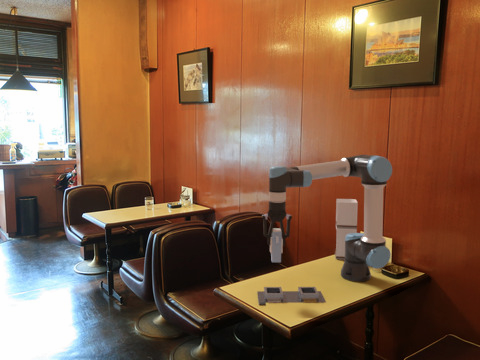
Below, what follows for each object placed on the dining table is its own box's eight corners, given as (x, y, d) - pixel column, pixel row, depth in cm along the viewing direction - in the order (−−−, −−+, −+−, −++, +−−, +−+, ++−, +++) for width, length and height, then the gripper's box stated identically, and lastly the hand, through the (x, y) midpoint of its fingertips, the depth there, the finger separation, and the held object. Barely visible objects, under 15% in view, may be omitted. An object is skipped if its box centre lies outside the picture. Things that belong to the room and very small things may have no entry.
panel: (320, 293, 183) (320, 285, 183) (326, 304, 171) (326, 295, 171) (257, 293, 183) (257, 285, 183) (258, 304, 171) (258, 296, 171)
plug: (279, 259, 177) (280, 228, 175) (281, 263, 171) (282, 231, 169) (271, 259, 177) (271, 228, 175) (272, 263, 171) (273, 231, 169)
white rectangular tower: (353, 255, 239) (355, 199, 235) (355, 260, 229) (357, 202, 224) (334, 254, 241) (336, 198, 237) (335, 259, 231) (337, 201, 227)
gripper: (295, 199, 175) (293, 249, 178) (257, 199, 175) (256, 249, 178) (297, 202, 168) (296, 254, 171) (258, 202, 168) (257, 254, 171)
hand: (276, 252), depth 174 cm, fingers closed on plug, 4 cm apart
